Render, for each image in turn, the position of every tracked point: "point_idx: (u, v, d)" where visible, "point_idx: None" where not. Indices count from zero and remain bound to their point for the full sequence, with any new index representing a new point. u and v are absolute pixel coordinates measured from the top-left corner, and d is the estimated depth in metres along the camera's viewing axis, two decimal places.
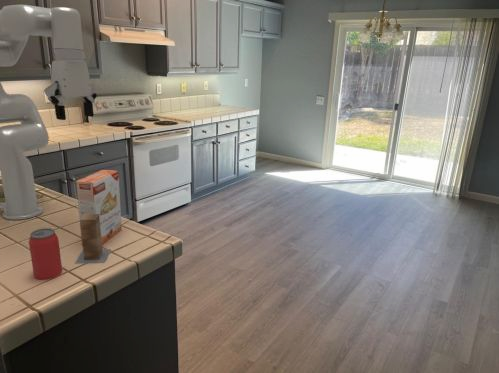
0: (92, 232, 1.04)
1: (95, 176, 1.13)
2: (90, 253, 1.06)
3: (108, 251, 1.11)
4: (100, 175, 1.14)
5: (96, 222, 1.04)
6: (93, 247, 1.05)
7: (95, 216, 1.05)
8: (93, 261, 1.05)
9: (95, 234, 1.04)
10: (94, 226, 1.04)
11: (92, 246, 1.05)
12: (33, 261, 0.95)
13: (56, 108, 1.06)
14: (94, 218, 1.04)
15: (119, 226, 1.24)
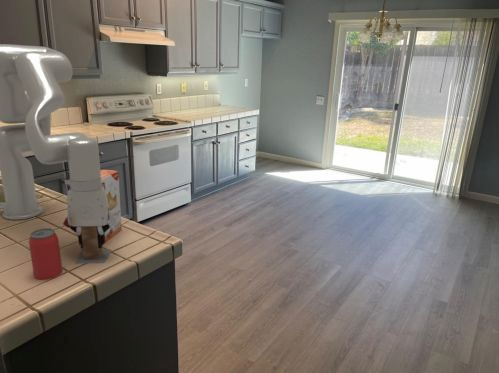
0: (92, 232, 1.04)
1: None
2: (90, 253, 1.06)
3: (108, 251, 1.11)
4: None
5: None
6: (93, 247, 1.05)
7: None
8: (93, 261, 1.05)
9: (95, 234, 1.04)
10: (94, 226, 1.04)
11: (92, 246, 1.05)
12: (33, 261, 0.95)
13: (103, 236, 1.07)
14: None
15: (119, 226, 1.24)
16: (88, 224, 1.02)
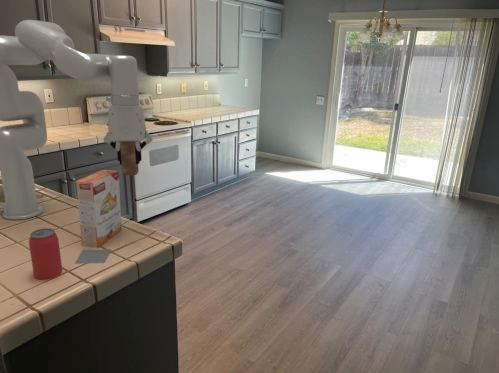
0: (131, 147, 1.11)
1: (95, 176, 1.13)
2: (128, 169, 1.13)
3: (108, 251, 1.11)
4: (100, 175, 1.14)
5: None
6: (131, 163, 1.12)
7: None
8: (93, 261, 1.05)
9: (133, 150, 1.11)
10: None
11: (130, 162, 1.12)
12: (33, 261, 0.95)
13: (140, 153, 1.14)
14: None
15: (119, 226, 1.24)
16: (127, 139, 1.09)
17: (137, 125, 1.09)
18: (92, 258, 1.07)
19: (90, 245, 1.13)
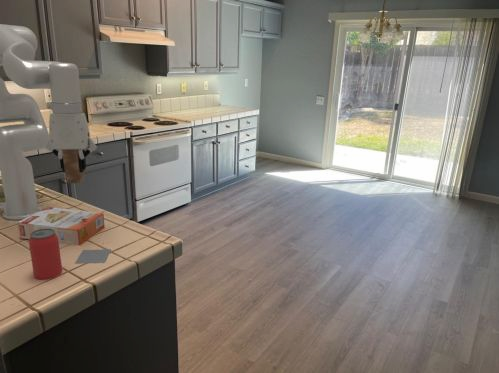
0: (73, 156, 1.10)
1: None
2: (72, 177, 1.12)
3: (108, 251, 1.11)
4: None
5: None
6: (75, 171, 1.12)
7: None
8: (93, 261, 1.05)
9: (76, 158, 1.10)
10: (75, 150, 1.09)
11: (73, 170, 1.11)
12: (33, 261, 0.95)
13: (84, 161, 1.12)
14: None
15: (94, 213, 1.25)
16: (69, 147, 1.08)
17: (79, 133, 1.08)
18: (92, 258, 1.07)
19: (76, 237, 1.14)
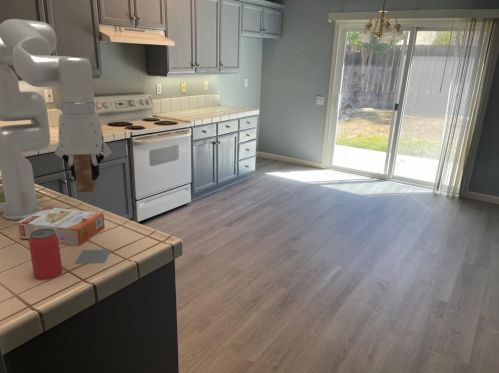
0: (86, 162, 0.98)
1: None
2: (84, 185, 1.00)
3: (108, 251, 1.11)
4: None
5: None
6: (87, 179, 1.00)
7: None
8: (93, 261, 1.05)
9: (88, 164, 0.98)
10: (87, 155, 0.97)
11: (86, 178, 0.99)
12: (33, 261, 0.95)
13: (97, 168, 1.00)
14: None
15: (94, 213, 1.25)
16: (81, 152, 0.96)
17: (92, 137, 0.96)
18: (92, 258, 1.07)
19: (76, 237, 1.14)
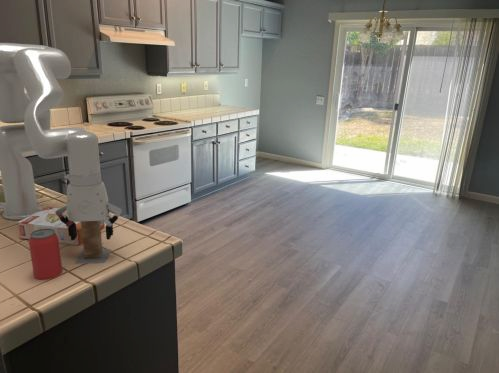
0: (93, 230, 1.05)
1: None
2: (90, 252, 1.06)
3: (108, 251, 1.11)
4: None
5: None
6: (94, 246, 1.06)
7: None
8: (93, 261, 1.05)
9: (96, 232, 1.05)
10: (95, 224, 1.04)
11: (92, 245, 1.06)
12: (33, 261, 0.95)
13: (111, 227, 1.06)
14: None
15: None
16: (87, 219, 1.02)
17: (98, 205, 1.01)
18: (92, 258, 1.07)
19: (76, 237, 1.14)
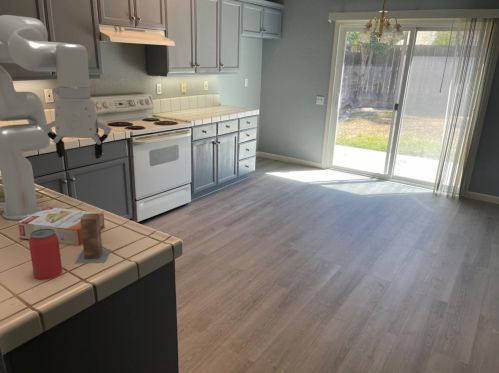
0: (93, 231, 1.05)
1: None
2: (90, 252, 1.06)
3: (108, 251, 1.11)
4: None
5: (96, 221, 1.05)
6: (94, 247, 1.06)
7: (95, 215, 1.06)
8: (93, 261, 1.05)
9: (95, 233, 1.05)
10: (94, 225, 1.04)
11: (92, 246, 1.06)
12: (33, 261, 0.95)
13: (101, 146, 1.05)
14: (94, 217, 1.04)
15: (94, 213, 1.25)
16: (76, 135, 1.01)
17: (86, 120, 1.00)
18: None
19: (76, 237, 1.14)
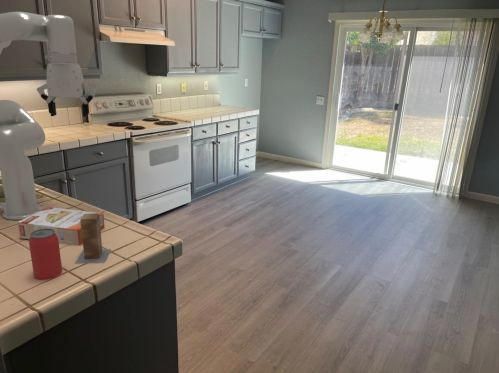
0: (93, 231, 1.05)
1: None
2: (90, 252, 1.06)
3: (108, 251, 1.11)
4: None
5: (96, 221, 1.05)
6: (94, 247, 1.06)
7: (95, 215, 1.06)
8: (93, 261, 1.05)
9: (95, 233, 1.05)
10: (94, 225, 1.04)
11: (92, 246, 1.06)
12: (33, 261, 0.95)
13: (87, 106, 1.21)
14: (94, 217, 1.04)
15: (94, 213, 1.25)
16: (65, 95, 1.17)
17: (74, 82, 1.16)
18: None
19: (76, 237, 1.14)
